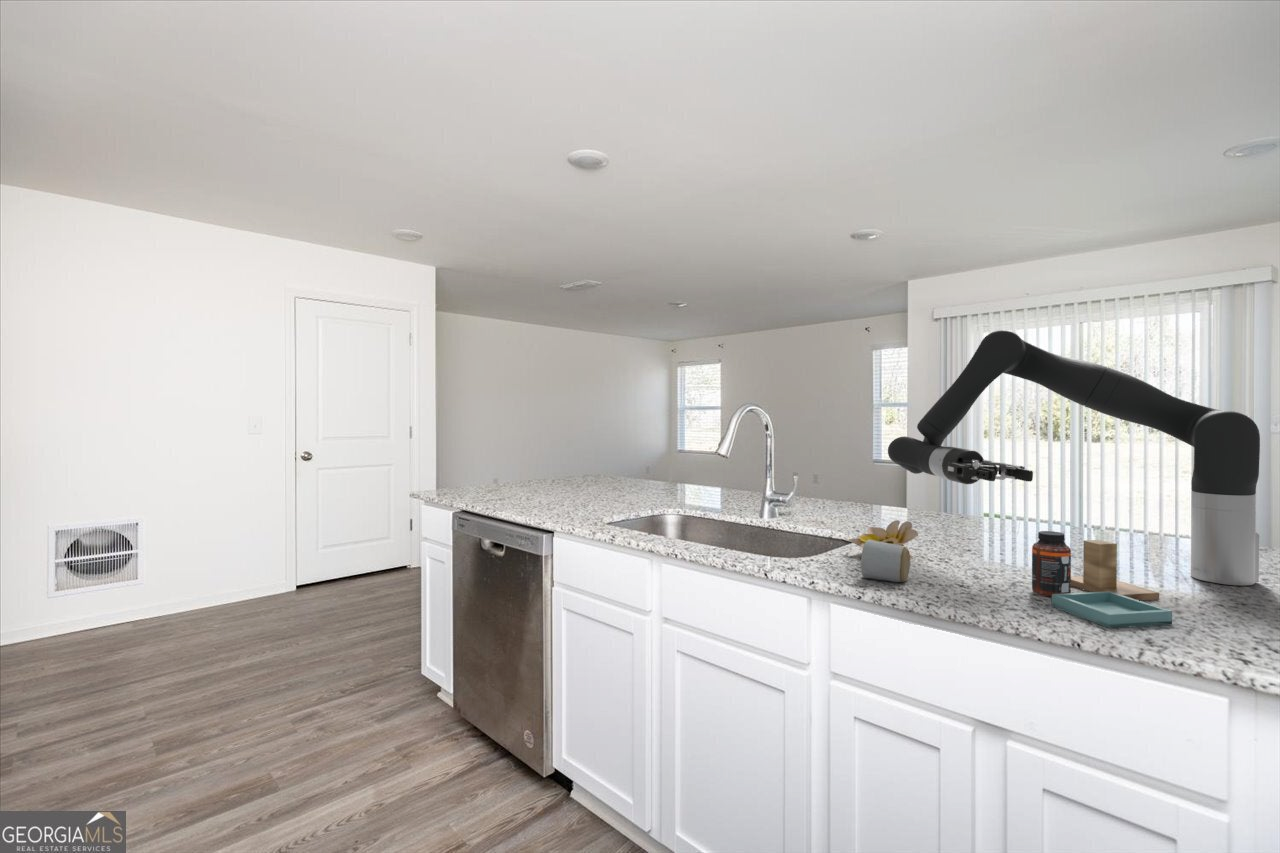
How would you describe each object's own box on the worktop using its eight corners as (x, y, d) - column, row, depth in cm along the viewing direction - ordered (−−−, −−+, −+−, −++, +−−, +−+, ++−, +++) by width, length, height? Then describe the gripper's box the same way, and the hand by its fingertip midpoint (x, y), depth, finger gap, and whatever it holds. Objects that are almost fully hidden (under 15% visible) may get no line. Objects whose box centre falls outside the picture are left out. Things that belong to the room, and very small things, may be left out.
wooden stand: (1100, 581, 122) (1100, 534, 122) (1159, 599, 110) (1159, 547, 110) (1063, 583, 121) (1063, 536, 120) (1119, 601, 109) (1119, 549, 109)
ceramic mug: (904, 587, 119) (904, 547, 119) (860, 581, 123) (860, 542, 123) (914, 576, 128) (914, 538, 128) (872, 570, 132) (872, 534, 132)
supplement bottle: (1077, 599, 110) (1077, 536, 110) (1040, 598, 111) (1040, 535, 111) (1061, 590, 116) (1062, 530, 116) (1026, 588, 117) (1026, 529, 117)
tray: (1109, 603, 108) (1109, 591, 108) (1172, 624, 97) (1172, 611, 97) (1051, 606, 106) (1051, 594, 106) (1109, 628, 95) (1109, 614, 95)
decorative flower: (837, 543, 151) (848, 503, 150) (879, 552, 153) (890, 513, 152) (869, 562, 136) (881, 518, 136) (915, 571, 138) (927, 528, 137)
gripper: (928, 447, 137) (983, 456, 121) (984, 448, 139) (1045, 457, 124) (926, 480, 137) (980, 495, 121) (982, 481, 140) (1041, 495, 124)
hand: (1012, 476), depth 122 cm, fingers open, 8 cm apart
